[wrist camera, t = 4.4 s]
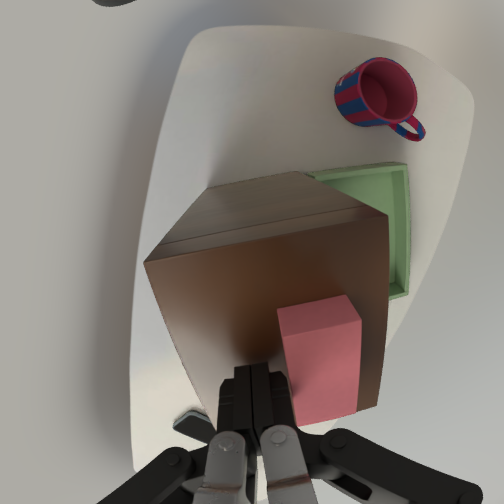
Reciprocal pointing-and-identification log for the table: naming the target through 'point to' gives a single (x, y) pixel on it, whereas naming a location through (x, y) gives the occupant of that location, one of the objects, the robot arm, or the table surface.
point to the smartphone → (195, 427)
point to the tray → (381, 209)
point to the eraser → (322, 357)
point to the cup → (379, 97)
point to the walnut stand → (268, 276)
